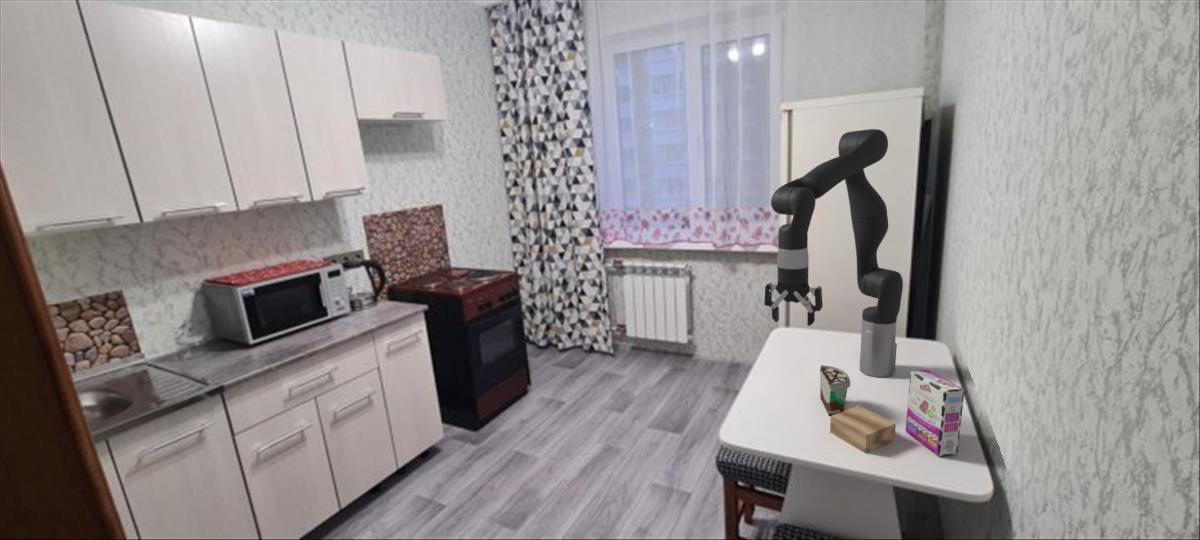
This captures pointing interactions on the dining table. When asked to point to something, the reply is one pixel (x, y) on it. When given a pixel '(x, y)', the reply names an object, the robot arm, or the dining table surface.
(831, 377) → the food container
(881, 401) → the dining table surface
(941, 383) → the candy bar box
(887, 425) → the oak block
